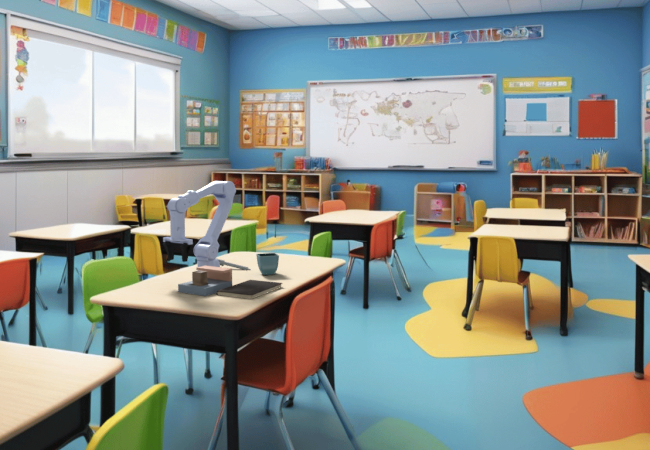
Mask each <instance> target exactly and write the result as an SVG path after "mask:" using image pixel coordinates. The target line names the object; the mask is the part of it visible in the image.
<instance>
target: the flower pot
mask: <svg viewBox="0 0 650 450" xmlns="http://www.w3.org/2000/svg"><path fill="white" fill-rule="evenodd" d="M279 260H280V255H279V254H277V253H276V252H265V253H256V262H257V263H256V264H257V266H258V269H259V270H258V271H259V272H260V273H261V274H262V275H263V276H270V275H272V274H274V275H275V274H276V273H277V270H278V267H279ZM272 276H273V275H272Z"/></svg>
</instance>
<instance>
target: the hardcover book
mask: <svg viewBox="0 0 650 450" xmlns="http://www.w3.org/2000/svg"><path fill="white" fill-rule="evenodd" d="M282 285H283V282H277V281H276V282H275V281H268V280H257V279H247V280H245V281H242V282H239V283H236V284H232V286H230V287H227V288H224V289H221V290H218V291H217V293H216V295H217V296H224V297H232V298H241V299H250V300H253V299H255V298H257V297H260V296H262V295H266V294H267V292H268V293H270V292H273V291H274V289H275V290H278V289H280V288H282ZM279 287H280V288H279ZM277 288H278V289H277ZM272 290H273V291H272Z"/></svg>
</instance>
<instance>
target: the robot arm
mask: <svg viewBox="0 0 650 450" xmlns="http://www.w3.org/2000/svg"><path fill="white" fill-rule="evenodd" d="M236 193H237V188H236V186H235V183H234V182H233V181H230V180H224V181H223V180H214V181H211V182H209V183H208V184H207V185H205V186H203V187H202V188H200V189H198V190H196V191H195V190H191V189H190V190H187V191H186V193H184V194H179V195H178V197H173V198H171V199H170V200H169V201H168V203H167V204H166V208H167V210H168V211H169V217H170V219H169V220H170V222H169V223H170V236H164V237H162V242H163V243H162V246H163V248H164V249H165V252H166V255H167V258H168V261H173V260H174V259H175V248H176V244H179V248H180V251H181V262H183V263H185V262H188V261H189V260H188V259H189V255H190V252H191V250H193V254H194V256H195V258H196V260H197V267H201V266H205V265H206V266H214V267H221V265H220V263H219V261H218V260H217V259H218V258H217V257H218V255H219V249H220V244H219V242H218V240H219V237H220V235H221V232H222V230H223V228H224V225H225V223H226V221H227V218H228V216H229V214H230V212H231V209H232V208H233V203H234V197H235V194H236ZM210 195H213V196H214V198H215V199H216V201H217V202H218V205H217V208H216V210H215V212H214V215H213V217H212V219H211V222H210V224H209V226H208V229H207V230H206V232H205V235H204V236H203V237H201V238H200V239H199V240H198V242H197V243H196V244H195V245H194V242H193V239H192V238H191V239H190V238H186V224H185V223H186V212H187V210H188V208H190V207H192V206H195V205H197V204H198V203H199V202H200V199H203V198H205V197H207V196H210ZM216 258H217V259H216ZM197 271H199V270H197Z"/></svg>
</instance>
